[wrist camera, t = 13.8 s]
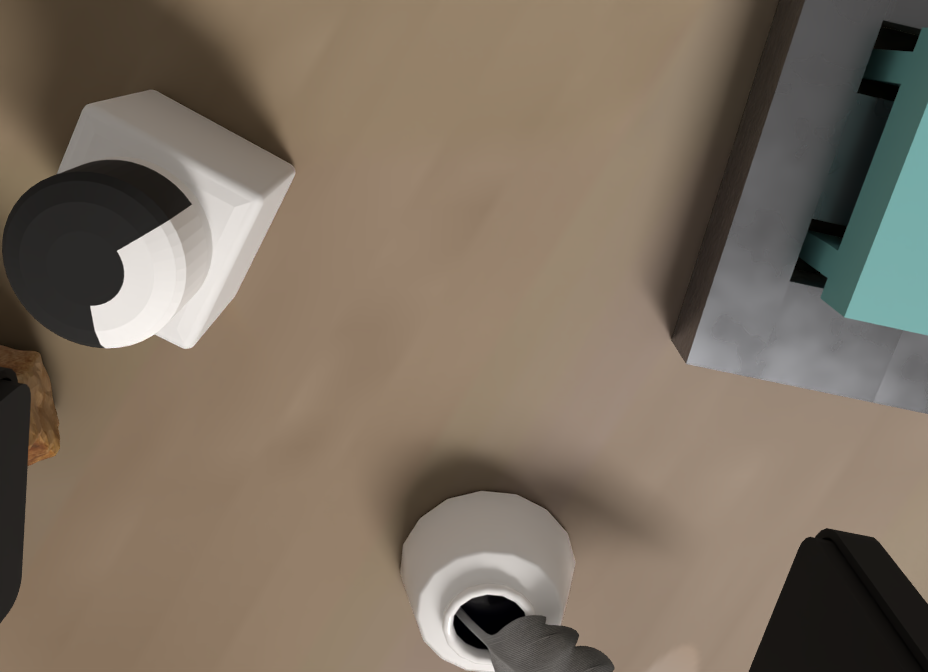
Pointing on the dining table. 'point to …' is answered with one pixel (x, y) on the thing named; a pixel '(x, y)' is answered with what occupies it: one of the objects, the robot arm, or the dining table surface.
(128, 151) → the medicine bottle
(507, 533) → the inkwell
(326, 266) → the dining table surface
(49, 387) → the decorative rock
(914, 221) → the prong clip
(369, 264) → the dining table surface
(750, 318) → the slot rail
